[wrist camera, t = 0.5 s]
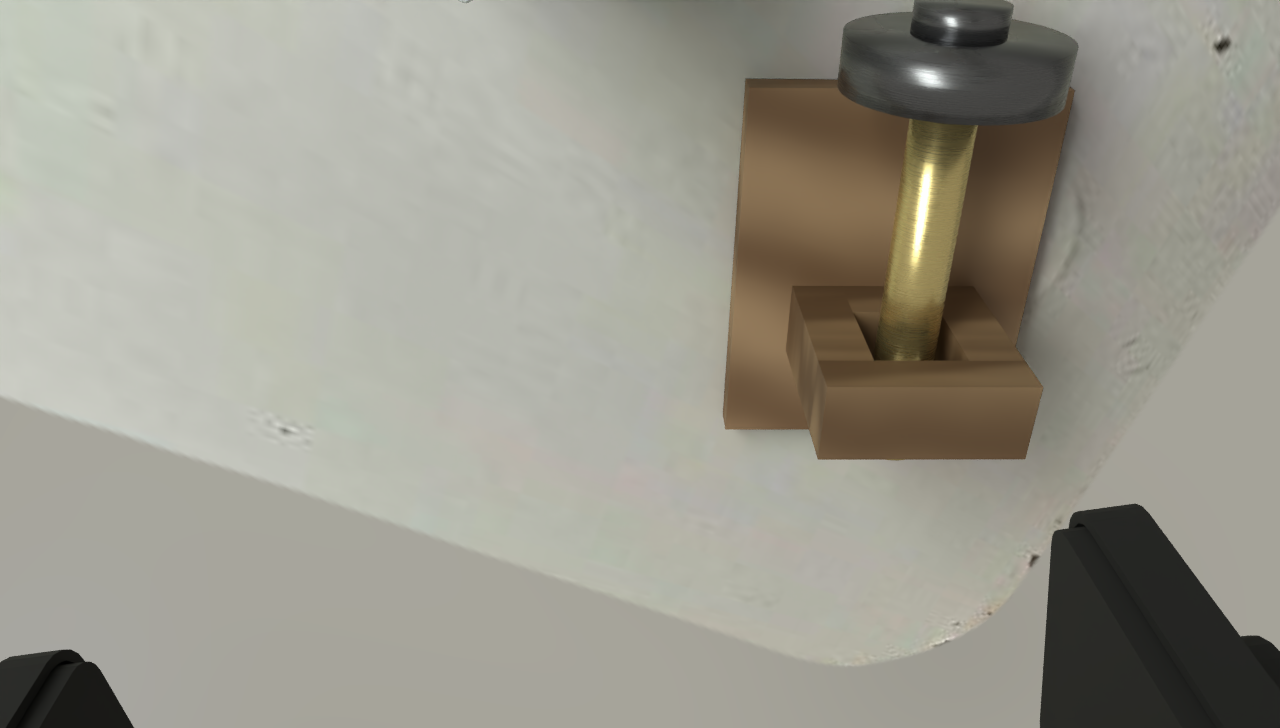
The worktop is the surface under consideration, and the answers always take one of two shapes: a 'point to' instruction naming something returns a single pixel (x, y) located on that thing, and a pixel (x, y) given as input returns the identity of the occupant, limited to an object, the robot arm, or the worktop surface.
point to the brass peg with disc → (944, 132)
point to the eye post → (878, 282)
